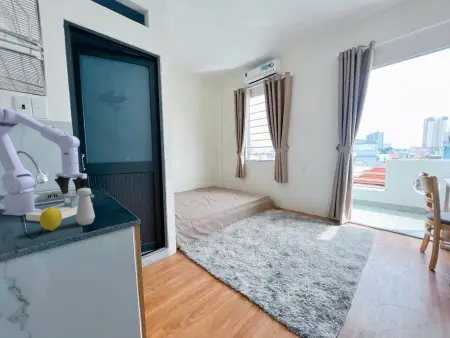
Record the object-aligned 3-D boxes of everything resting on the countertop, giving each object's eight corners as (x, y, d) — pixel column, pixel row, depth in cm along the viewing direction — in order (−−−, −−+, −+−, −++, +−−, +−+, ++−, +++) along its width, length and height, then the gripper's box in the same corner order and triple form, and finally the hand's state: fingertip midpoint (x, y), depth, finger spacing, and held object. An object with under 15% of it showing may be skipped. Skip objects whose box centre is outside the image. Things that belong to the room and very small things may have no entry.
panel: (26, 220, 76) (25, 213, 76) (71, 207, 93) (70, 201, 93) (51, 222, 74) (51, 215, 73) (92, 208, 91) (92, 202, 91)
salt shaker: (85, 226, 70) (83, 190, 68) (71, 225, 71) (69, 189, 69) (99, 221, 75) (97, 187, 74) (86, 220, 76) (84, 186, 75)
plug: (64, 211, 86) (63, 196, 86) (73, 209, 90) (72, 194, 90) (71, 212, 85) (70, 196, 85) (80, 209, 90) (79, 194, 89)
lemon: (49, 227, 69) (47, 205, 68) (66, 227, 69) (65, 205, 68) (36, 234, 63) (33, 210, 62) (54, 234, 64) (52, 209, 63)
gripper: (47, 163, 84) (49, 195, 85) (75, 164, 81) (77, 197, 82) (63, 162, 91) (65, 191, 92) (90, 163, 88) (92, 193, 89)
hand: (72, 194), depth 88 cm, fingers open, 7 cm apart
